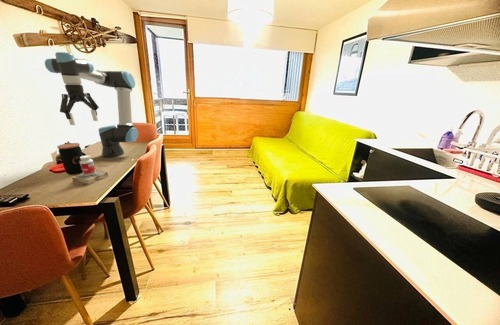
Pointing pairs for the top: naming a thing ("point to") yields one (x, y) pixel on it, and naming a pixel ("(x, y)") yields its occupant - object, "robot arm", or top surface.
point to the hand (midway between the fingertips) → (84, 122)
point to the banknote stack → (90, 178)
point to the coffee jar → (71, 157)
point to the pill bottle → (87, 166)
